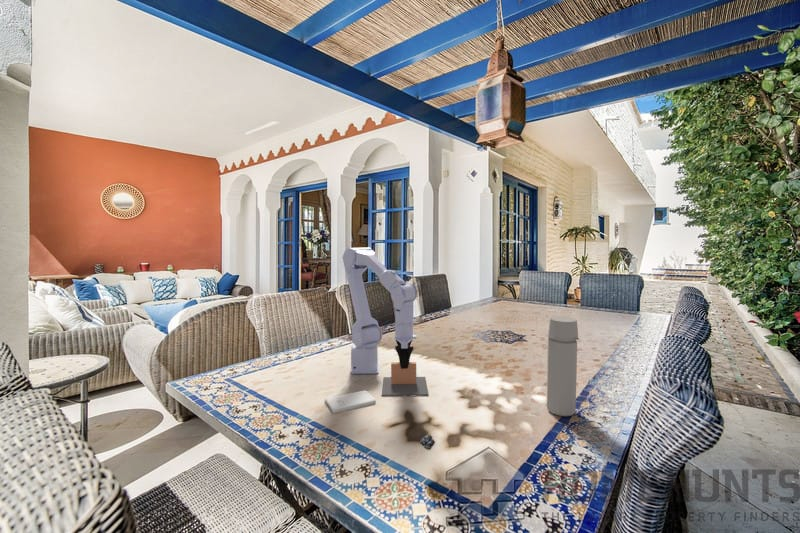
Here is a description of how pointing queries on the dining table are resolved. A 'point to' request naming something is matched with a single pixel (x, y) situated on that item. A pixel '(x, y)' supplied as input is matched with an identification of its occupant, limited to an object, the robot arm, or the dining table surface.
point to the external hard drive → (350, 401)
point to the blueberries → (427, 441)
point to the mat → (404, 388)
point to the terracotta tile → (403, 373)
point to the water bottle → (562, 366)
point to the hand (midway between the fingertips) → (404, 364)
